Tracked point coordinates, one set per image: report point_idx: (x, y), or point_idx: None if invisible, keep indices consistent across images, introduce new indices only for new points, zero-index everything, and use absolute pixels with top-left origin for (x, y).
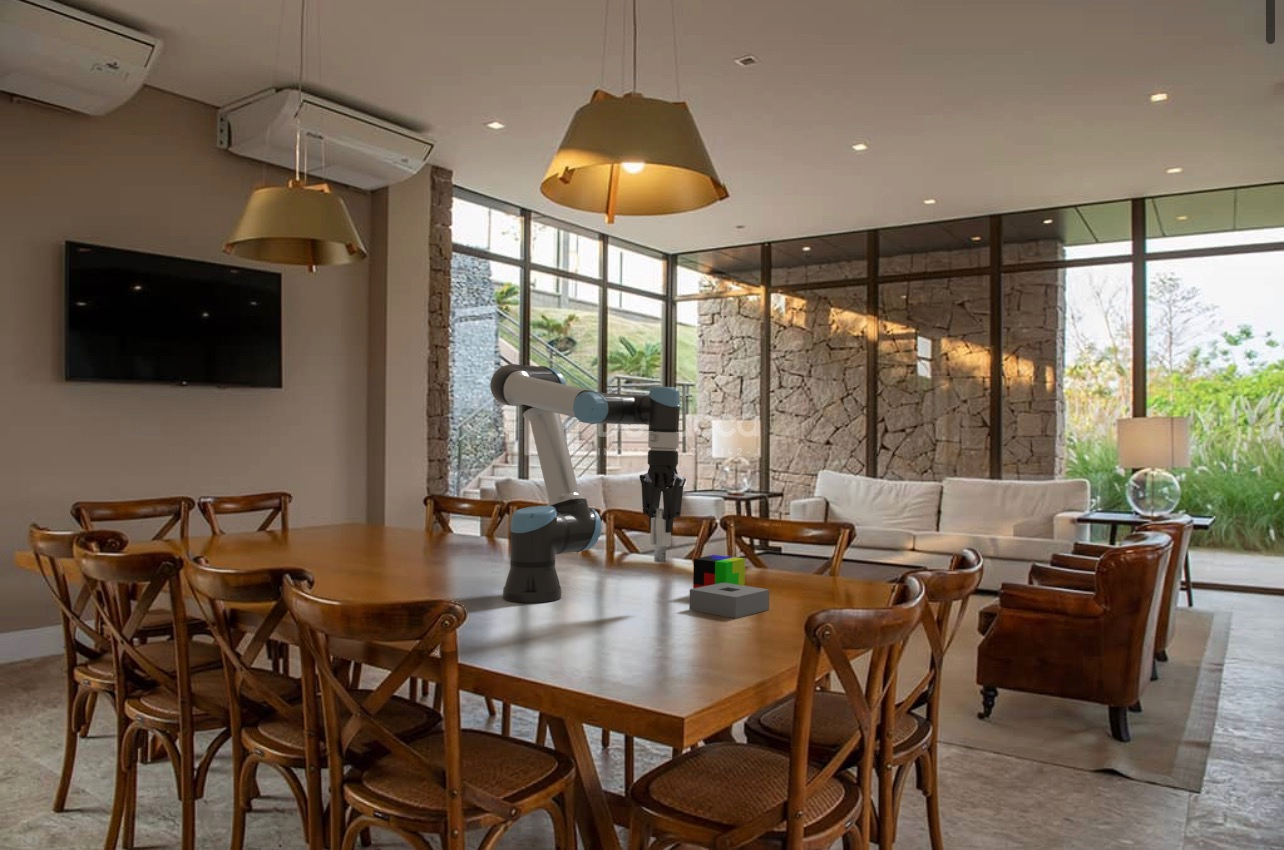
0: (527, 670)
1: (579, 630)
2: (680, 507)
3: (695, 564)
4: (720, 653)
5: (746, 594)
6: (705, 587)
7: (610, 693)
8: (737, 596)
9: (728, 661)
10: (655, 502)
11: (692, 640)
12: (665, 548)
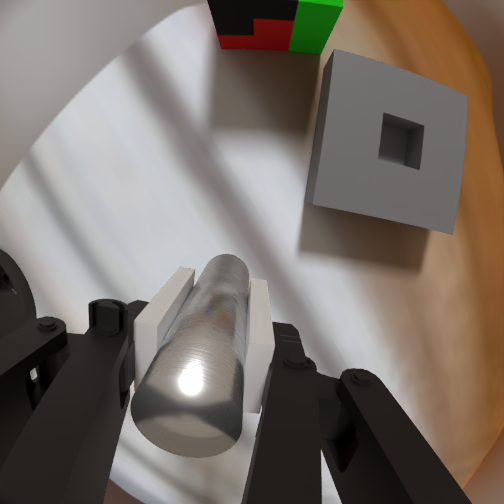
0: None
1: (228, 456)
2: (406, 425)
3: (217, 7)
4: (451, 428)
5: (458, 186)
6: (336, 150)
7: None
8: (452, 224)
9: (460, 441)
10: (105, 456)
11: (408, 411)
12: (247, 289)
